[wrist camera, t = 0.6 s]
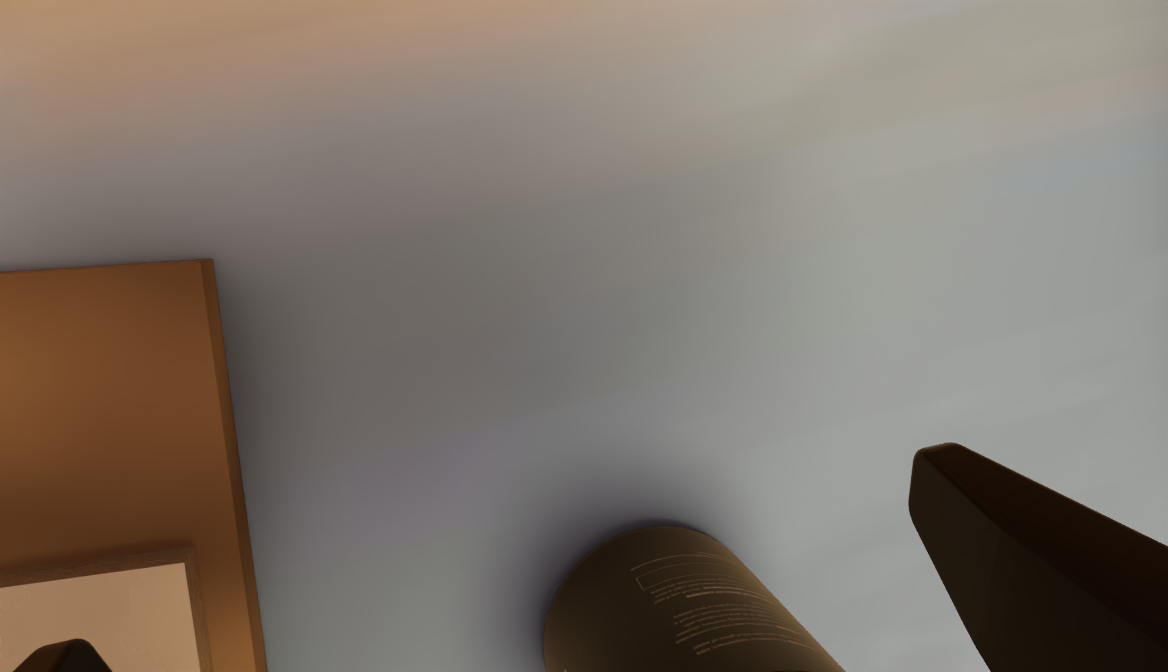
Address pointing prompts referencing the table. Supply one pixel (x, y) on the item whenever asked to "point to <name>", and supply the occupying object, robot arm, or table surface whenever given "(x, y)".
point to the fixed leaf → (110, 611)
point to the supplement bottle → (673, 612)
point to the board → (125, 432)
